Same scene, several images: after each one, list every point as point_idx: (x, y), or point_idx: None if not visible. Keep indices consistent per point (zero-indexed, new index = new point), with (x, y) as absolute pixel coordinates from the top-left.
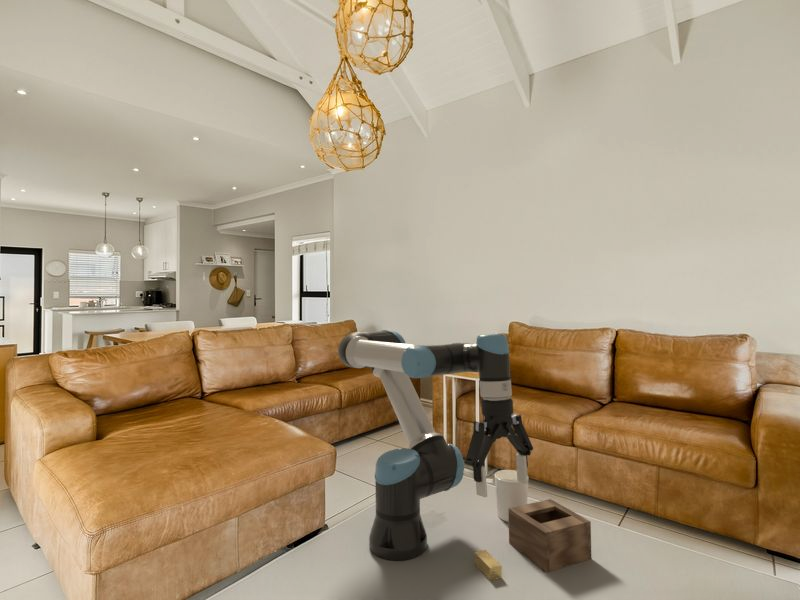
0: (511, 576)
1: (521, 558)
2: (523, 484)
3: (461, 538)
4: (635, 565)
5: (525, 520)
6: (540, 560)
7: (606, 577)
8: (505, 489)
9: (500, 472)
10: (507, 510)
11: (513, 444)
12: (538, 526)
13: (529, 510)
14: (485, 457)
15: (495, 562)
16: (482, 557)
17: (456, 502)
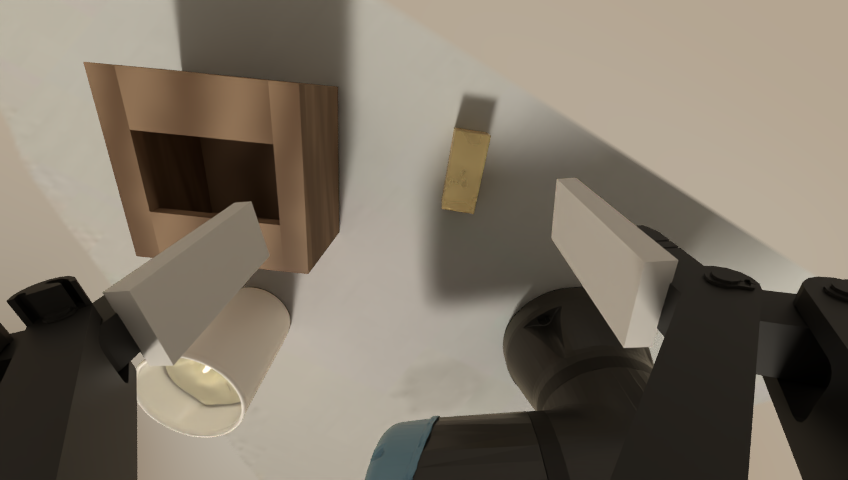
0: (429, 119)
1: (354, 166)
2: None
3: (428, 299)
4: None
5: (305, 190)
6: (332, 110)
7: None
8: (245, 360)
9: (206, 430)
10: (270, 318)
11: (123, 439)
12: (292, 132)
13: None
14: (677, 329)
15: (459, 149)
16: (473, 185)
17: (342, 414)
